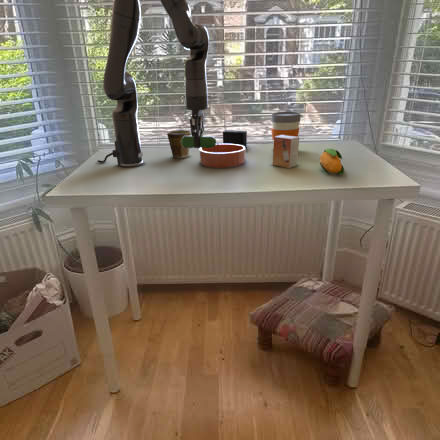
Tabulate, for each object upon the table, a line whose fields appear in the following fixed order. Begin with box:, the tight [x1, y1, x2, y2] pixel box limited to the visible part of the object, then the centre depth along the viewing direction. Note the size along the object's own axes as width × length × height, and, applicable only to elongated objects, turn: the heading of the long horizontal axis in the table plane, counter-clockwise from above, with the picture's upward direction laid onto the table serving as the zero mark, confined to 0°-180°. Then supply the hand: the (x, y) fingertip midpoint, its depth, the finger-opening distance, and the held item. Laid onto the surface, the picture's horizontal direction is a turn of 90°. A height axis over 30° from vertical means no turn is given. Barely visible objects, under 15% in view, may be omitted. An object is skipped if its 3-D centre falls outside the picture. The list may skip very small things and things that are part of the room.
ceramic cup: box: [166, 129, 192, 159], centre depth 171 cm, size 13×10×10 cm
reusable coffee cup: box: [270, 111, 302, 144], centre depth 173 cm, size 13×13×15 cm
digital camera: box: [222, 129, 248, 148], centre depth 185 cm, size 10×5×7 cm, turn 66°
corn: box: [319, 148, 345, 176], centre depth 141 cm, size 7×8×20 cm
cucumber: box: [181, 135, 217, 149], centre depth 144 cm, size 13×4×4 cm, turn 80°
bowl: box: [199, 143, 246, 169], centre depth 160 cm, size 18×18×6 cm
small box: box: [272, 135, 300, 169], centre depth 151 cm, size 8×6×10 cm
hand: (198, 146), depth 145 cm, fingers closed on cucumber, 4 cm apart
